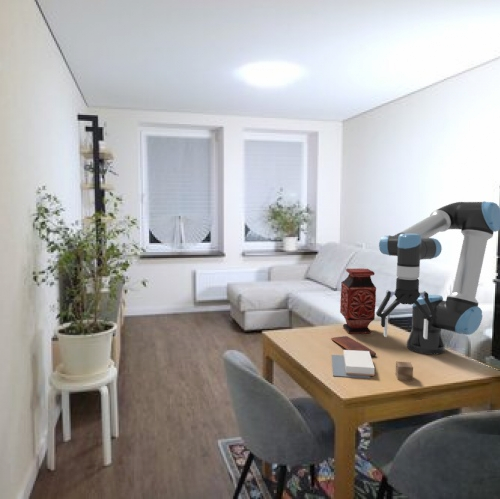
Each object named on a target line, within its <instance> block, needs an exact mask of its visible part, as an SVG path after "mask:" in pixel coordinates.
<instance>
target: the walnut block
mask: <svg viewBox="0 0 500 499" xmlns="http://www.w3.org/2000/svg"><path fill="white" fill-rule="evenodd" d="M395 376H396V379H397V381H410V382H413V380H414V379H413V377H414V366H413V365H412V363H411V362H409V361H396V362H395Z"/></svg>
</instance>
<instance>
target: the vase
mask: <svg viewBox="0 0 500 499" xmlns="http://www.w3.org/2000/svg"><path fill="white" fill-rule="evenodd" d="M345 270H346V273H348V275H347V277H346V278H345V279H344V280H342V281H341V283H340V284H341V286H340V287H341V290H340V310H339V313H340V314H341V315H342V316H343V317H344V320H345V322H346V323H344V324H342V328H343V329H344V330H345V331H347V333H348V334H349V335H350V334H355V335H356V334H371V332H372V331H371V329H370V328H369V325H370V324H371V322H373V321H374V320H375V319H376V318H375V316H376V304H377V303H376V302H377V287H376V285H375V284H374V283H373V281H372V277H371V276H374V275H375V271H373V270H370V269H369V268H345Z"/></svg>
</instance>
